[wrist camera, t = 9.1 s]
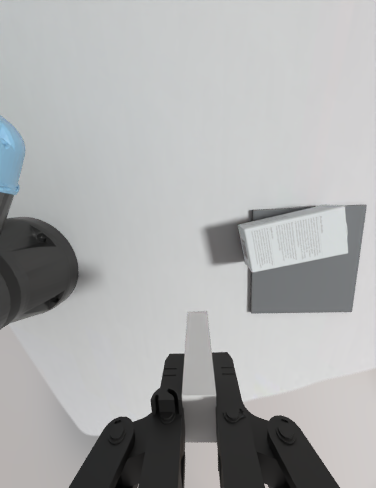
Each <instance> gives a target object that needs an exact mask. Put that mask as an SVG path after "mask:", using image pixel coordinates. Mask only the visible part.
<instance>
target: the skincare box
mask: <svg viewBox="0 0 376 488" xmlns="http://www.w3.org/2000/svg"><path fill="white" fill-rule="evenodd" d="M238 230H239V234H240V239H241V244H242V249H243V254H244V260H245V264H246V265H247V266H248V268H249V269H250V271H251V272H258V271H263V270H268V269H273V268H278V267H283V266H288V265H293V264H298V263H303V262H308V261H312V260H317V259H322V258H327V257H332V256H337V255H342V254H347V253H348V245H347V234H348V231H347V223H346V215H345V206H342V205H321V206H317V207H312V208H308V209H304V210H300V211H295V212H291V213H287V214H282V215H278V216H274V217H269V218H265V219H261V220H256V221H252V222H247V223H243V224H239V225H238Z"/></svg>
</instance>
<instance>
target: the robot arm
mask: <svg viewBox="0 0 376 488" xmlns="http://www.w3.org/2000/svg"><path fill="white" fill-rule="evenodd" d="M24 156H25V144H24V141H23V139H22V137H21V135H20V134H19V132H18V131H17V130H16V128H15V127H14V126H13V125H12V124H11V123H10V122H8V121H7V120H6V119H5V118H3V117H2V116H1V115H0V329H1V328H3V327H5V326H6V325H8V324H9V323H12V322H15V321H18V320H21V319H25V318H28V317H31V316H34V315H38V314H41V313H44V312H47V311H49V310H51V309H53V308H55V307H56V306H57V305H59V304H60V303H61V302H63V301H64V300H65V299H67V298H68V297H69V295H70V294H71V293H72V291H73V290H74V288H75V286H76V283H77V279H78V263H77V259H76V256H75V253H74V251H73V249H72V247H71V245H70V243H69V242H68V241H67V239H66V238H65V237H64V236H63V235H62V234H61V233H60V232H59V231H58V230H57V229H55V228H54V227H53V226H51V225H49V224H48V223H46V222H43V221H41V220H38V219H34V218H29V217H18V218H9V219H6V218H7V215H8V212H9V209H10V206H11V203H12V200H13V197H14V195H16V194H17V193H18V191H19V189H20V187H19V184H18V181H19V177H20V173H21V169H22V164H23V160H24ZM151 407H152V413H151V414H149V415H148V416H147V417H145V418H143V419H140V420H137V421H134V422H132V421H131V419H129V418H127V417H118V418H116V419H114V420H112V421H111V422H110V423H108V425H107V426H106V427H105V428H104V430H103V432H102V433H101V435H100V437H99V438H98V440H97V442H96V443H95V445H94V447H93V448H92V450H91V452H90V453H89V455H88V457H87V458H86V460H85V461H84V463H83V465H82V466H81V468H80V470H79V471H78V473H77V475H76V476H75V478H74V480H73V481H72V483H71V485H70V486H69V488H137V487H138V484H139V487H138V488H184V479H185V442H217V446H218V471H219V476H220V487H221V488H265V486H264V483H265V484H267V485H268V487H269V488H340V487H339V486H338V484H337V483H336V481H335V480H334V478H333V477H332V476H331V474H330V472H329V471H328V469H327V468H326V466H325V465H324V463H323V462H322V460H321V459H320V458H319V456H318V455H317V453H316V452H315V450H314V449H313V447H312V446H311V444H310V443H309V441H308V440H307V438H306V437H305V436H304V434H303V432H302V431H301V429H300V428H299V427H298V426H297V425H296V424H295V422H293V421H292V420H290V419H289V418H287V417H284V416H274V417H272V418H271V419H270V420H269V421H267V420H264V419H261V418H259V417H256V416H254V415H253V414H251V413H250V412H249V411H248V410H247V409H246V408H245V406H244V404H243V402H242V399H241V394H240V390H239V386H238V381H237V377H236V373H235V368H234V364H233V360H232V358H231V357H230V355H229V354H228V353H227V352H219V353H212V351H211V341H210V332H209V323H208V313H207V311H198V312H187V326H186V341H185V354H169V356H168V357H167V359H166V360H165V365H164V370H163V376H162V381H161V387H160V388H159V389H158V390H157V391H156V392H155V393H154V394H153V396H152V398H151Z"/></svg>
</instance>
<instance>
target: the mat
mask: <svg viewBox="0 0 376 488" xmlns="http://www.w3.org/2000/svg"><path fill="white" fill-rule="evenodd" d="M366 206H367V205H348V206H345V215H346V223H347V231H348V234H347V245H348V253H347V254H342V255H337V256H332V257H327V258H322V259H317V260H312V261H308V262H303V263H298V264H293V265H288V266H283V267H278V268H273V269H268V270H263V271H258V272H251V313H312V312H352V307H353V300H354V293H355V285H356V278H357V271H358V264H359V257H360V249H361V242H362V235H363V228H364V221H365V213H366ZM308 208H312V207H306V208H284V209H263V210H253V217H252V221H256V220H261V219H265V218H269V217H274V216H278V215H282V214H287V213H291V212H295V211H300V210H304V209H308Z"/></svg>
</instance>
